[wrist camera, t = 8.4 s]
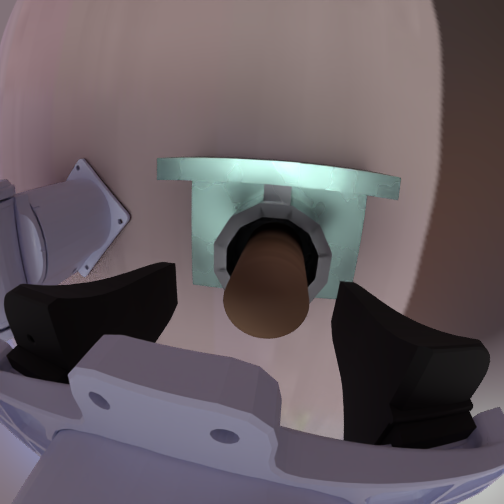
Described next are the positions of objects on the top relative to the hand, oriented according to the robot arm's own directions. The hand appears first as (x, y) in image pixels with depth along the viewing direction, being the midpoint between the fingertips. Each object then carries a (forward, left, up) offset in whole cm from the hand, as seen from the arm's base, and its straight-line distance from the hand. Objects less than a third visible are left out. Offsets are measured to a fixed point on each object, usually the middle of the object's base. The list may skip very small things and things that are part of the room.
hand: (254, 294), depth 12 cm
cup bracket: (0, -1, -10) cm, 10 cm away
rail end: (0, -1, -9) cm, 9 cm away
